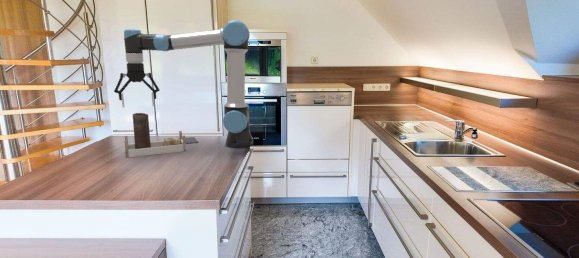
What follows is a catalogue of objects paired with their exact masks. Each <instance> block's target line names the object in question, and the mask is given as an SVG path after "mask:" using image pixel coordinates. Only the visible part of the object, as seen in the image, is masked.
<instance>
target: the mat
mask: <svg viewBox="0 0 579 258" xmlns="http://www.w3.org/2000/svg"><path fill="white" fill-rule="evenodd" d="M176 138H177V137H176ZM177 139H180V137H179V138H177ZM182 140H183V139H182ZM185 143H186V145H189V144H199V141H198V140H197V138H195V136H191V137H189V136H188V137H185Z"/></svg>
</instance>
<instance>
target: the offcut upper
mask: <svg viewBox="0 0 579 258" xmlns="http://www.w3.org/2000/svg"><path fill="white" fill-rule="evenodd" d="M163 141H164V144H165V145H166V146H170V145H180V143H179V139H177V137H176V136H173V137H166V138H163Z"/></svg>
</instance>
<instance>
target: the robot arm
mask: <svg viewBox="0 0 579 258" xmlns="http://www.w3.org/2000/svg"><path fill="white" fill-rule="evenodd" d="M250 35H251V34H250V30H249V28H248V27H247V25H246V24H245V23H244V22H243V21H241V20H237V19H233V20H229V21H227V23H225V25H224V26H222V27H221V28H220V29H214V30H213V29H212V30H206V31H205V30H204V31H194V32H187V33H178V34H167V35H166V34H163V33H156V34H155V33H154V34H153V33H152V34H150V33H148V34H147V33H142V31H141V29H134V28H133V29H131V28H128V29H127V28H126V29H125V30H124V31H123V40H124V49H125V62H127V63H126V71H127V72H126V73H125V72H124V73H123V72H121V73H119V74H120V75H119V79H118V82H117V84H116V87H115V88H114V91H113V92H114V93H116V94H118V100H119V101H121V103H122V108H125V100H124V93H123V92H124V90H125V89H126V88H127V87H128V86H129V84H131V82H132V83H144V85H146V86H147V87H148V89H150V90H151V91H152V92H151V101H152V103H151V104H152V106H153V107H155V100H156V99H157V93H158V92H160V88H159V86H158V85H157V83H156V81H155V80H154V78H153V76H152V73H151V72H148V73H147V72H146V73H145V64H144V53H143V51H159V52H160V51H161V52H168V51H174V50H184V49H193V48H194V49H195V48H203V47H211V46H221V45H222V46H223V50H224V51H225V52H226V55H227V56H226V63H227V65H226V66H227V67H226V71H227V74H226V80H227V81H226V86H227V88H226V89H227V91H226V92H227V93H226V95H227V96H226V97H227V101H226V103H225V104H224V105H223V107H224V108H223V110H224V111H223V112H224V113H223V114H224V116H223V119H222V124H223V127H224V128H225V130H226V131H227V134H226V139H225V147H229V148H231V149H232V148H235V149H242V148H249V147H251V146H253V145H254V139H253V137H252V133H251V131H250V128H251V127H250V105H249V104H248V103H246V102H245V101H246V100H245V95H246V93H245V92H246V89H245V88H246V87H245V86H246V85H245V84H246V81H245V80H246V76H245V75H246V53H247V52H248V51H249V39H250ZM126 77H127V78H128V80H127V81H126V82H125V83H124V85H123V86H122V87H121V88H120V86H121V84H122V82H123V79H124V78H126ZM145 77H147V78H149V80H150V81H151V83H152V85H153V86H154V87H153V86H152V85H150V83H148V82H147V81H146V80H145ZM119 88H120V89H119Z"/></svg>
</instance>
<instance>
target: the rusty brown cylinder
mask: <svg viewBox="0 0 579 258" xmlns="http://www.w3.org/2000/svg"><path fill="white" fill-rule="evenodd" d="M132 123H133V126H132V127H133V136H134V138H133V139H134V140H133V141H134V144H135V149H142V148H151V143H150V142H151V135H150V131H151V130H150V120H149V114H147V113H144V112H135V113H133V114H132Z"/></svg>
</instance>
